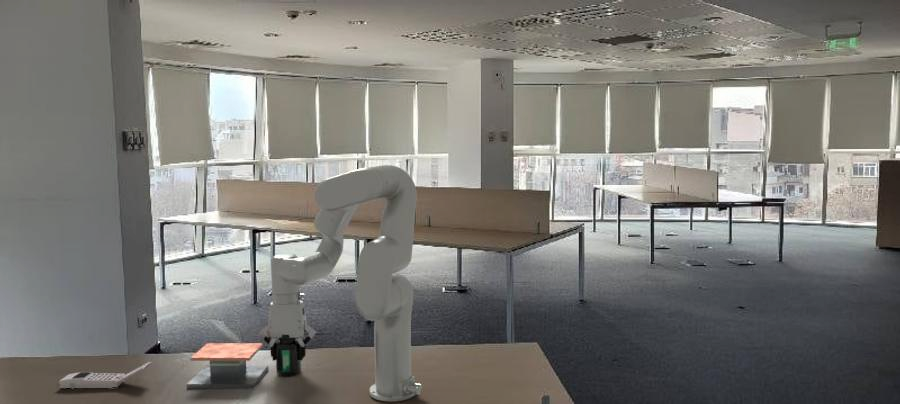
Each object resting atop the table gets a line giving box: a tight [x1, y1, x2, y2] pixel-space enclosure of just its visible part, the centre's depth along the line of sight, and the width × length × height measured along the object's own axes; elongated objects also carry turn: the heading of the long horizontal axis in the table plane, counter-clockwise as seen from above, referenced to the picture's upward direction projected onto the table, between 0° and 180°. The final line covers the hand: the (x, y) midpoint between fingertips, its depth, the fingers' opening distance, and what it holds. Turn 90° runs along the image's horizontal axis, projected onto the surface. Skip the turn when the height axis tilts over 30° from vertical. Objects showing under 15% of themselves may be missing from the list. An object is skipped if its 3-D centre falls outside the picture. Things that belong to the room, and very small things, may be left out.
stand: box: [186, 342, 269, 390], centre depth 188 cm, size 18×14×8 cm
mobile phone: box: [58, 361, 152, 389], centre depth 184 cm, size 6×6×25 cm
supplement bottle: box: [275, 335, 302, 378], centre depth 191 cm, size 7×7×12 cm
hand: (288, 358), depth 192 cm, fingers closed on supplement bottle, 6 cm apart
